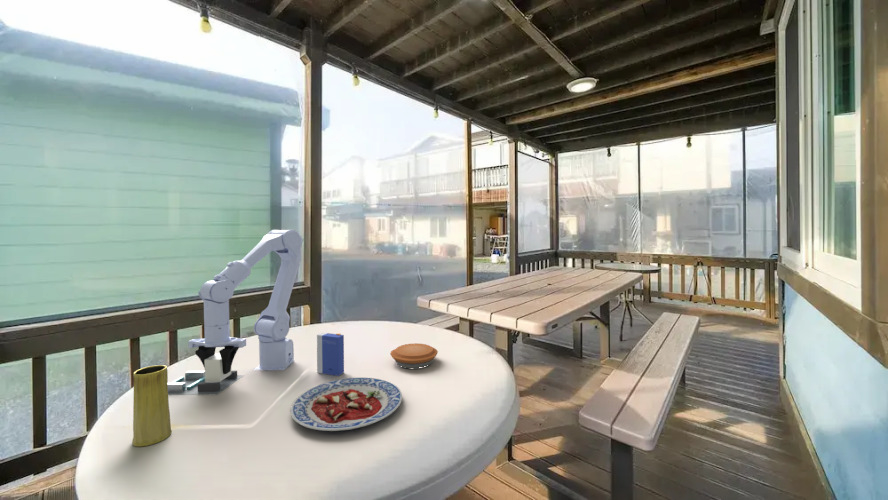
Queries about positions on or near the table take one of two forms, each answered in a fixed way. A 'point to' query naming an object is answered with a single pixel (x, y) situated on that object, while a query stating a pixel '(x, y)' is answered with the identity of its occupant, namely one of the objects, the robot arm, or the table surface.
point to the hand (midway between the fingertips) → (218, 372)
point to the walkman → (330, 353)
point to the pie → (414, 355)
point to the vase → (151, 406)
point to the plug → (214, 369)
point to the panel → (194, 391)
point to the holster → (214, 384)
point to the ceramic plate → (346, 404)
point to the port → (181, 387)
